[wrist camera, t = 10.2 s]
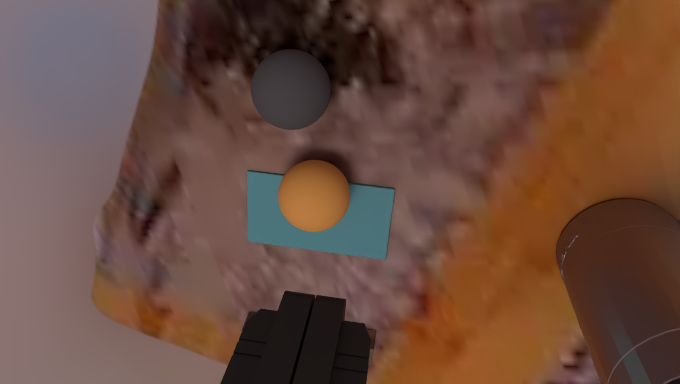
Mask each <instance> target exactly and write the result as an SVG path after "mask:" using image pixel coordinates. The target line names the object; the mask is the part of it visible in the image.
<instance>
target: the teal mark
mask: <svg viewBox="0 0 680 384" xmlns="http://www.w3.org/2000/svg"><path fill="white" fill-rule="evenodd" d="M283 177H284V175H282V174H273V173H265V172H257V171H249V170H248V171H247V202H248V241H249V242H256V243H264V244H271V245H279V246H286V247H294V248H301V249H308V250H316V251H323V252H331V253H338V254H346V255H353V256H360V257H368V258H375V259H383V260H385V259H386V251H387V244H388V236H389V229H390V221H391V214H392V206H393V199H394V191H395V188H387V187H379V186H371V185H362V184H354V183H348V185H349V189H350V203H349V207H348V210H347V212H346V214H345V215H344V217H343V218H342V219H341V221H340V222H338V223H337V224H336V225H335V226H333V227H332V228H329V229H327V230H324V231H320V232H308V231H304V230H301V229H299V228H297V227H295V226H293V225H292V224H291V223H290V222H289V221H288V220H287V219H286V218H285V216H284V215H283V213H282V211H281V209H280V206H279V202H278V190H279V186H280V183H281V180H282V178H283Z"/></svg>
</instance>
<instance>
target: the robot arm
mask: <svg viewBox="0 0 680 384" xmlns="http://www.w3.org/2000/svg"><path fill="white" fill-rule="evenodd" d="M556 257H557V264H558V266H559V269H560V272H561V277H562V280H563V281H564V283H565V286H566V289H567V292H568V295H569V298H570V300H571V303H572V306H573V309H574V311H575V314H576V317H577V320H578V322H579V325H580V328H581V330H582V333H583V336H584V339H585V341H586V344H587V347H588V350H589V352H590V355H591V358H592V360H593V363H594V366H595V369H596V371H597V374H598V377H599V380H600V382H601V384H680V222H677V221H676V220H675V219H673V218H672V217H671V216H670V215H669V214H668V213H667V212H666V211H665V210H664V209H662V208H660V207H659V206H657V205H655V204H652V203H649V202H646V201H643V200H635V199H617V200H612V201H607V202H603V203H600V204H598V205H595V206H593V207H590V208H588V209H587V210H585V211H584V212H582V213H580V214H579V215H578V216H576V217H575V218H574V219H573V220H572V221H571V222H570V223H569V224H568V225H567V227H566V228H565V229H564V231H563V232H562V234H561V236H560V239H559V241H558V244H557V250H556ZM345 308H346V299H342V298H335V297H328V296H321V295H317V296H316V299H315V295H313V294H305V293H298V292H291V291H285V292H284V295H283V297H282V300H281V303H280V306H279V309H278V311H273V310H266V309H260V310H259V311H258V312H257V313H255V314H254V315H253V316H252V317H251V318H250V319H249V320H248V321H247V322H246V324H245V326H244V329H243V331H242V333H241V336H240V338H239V342H238V343H237V345H236V348H235V350H234V354H233V355H232V357H231V360H230V362H229V364H228V367H227V369H226V372H225V374H224V376H223V379H222V381H221V384H366V381H367V372H368V364H369V355H370V347H371V338H370V336H369V333H368V331H367V329H366V326H365V324H364V323H357V322H350V321H344V319H345Z"/></svg>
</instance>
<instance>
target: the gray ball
mask: <svg viewBox="0 0 680 384" xmlns="http://www.w3.org/2000/svg"><path fill="white" fill-rule="evenodd" d="M251 94H252V99H253V102H254V105H255V107H256V109H257V111H258V112H259V113H260V115H261V116H262V117H263V118H264V119H265V120H266V121H267V122H269V123H270V124H272V125H274V126H276V127H279V128H282V129H288V130H294V129H301V128H304V127H307V126H309V125H311V124H313V123H314V122H315V121H317V120H318V119H319V118H320V117H321V116H322V114H323V113H324V111H325V110H326V108H327V106H328V103H329V100H330V94H331V86H330V80H329V77H328V74H327V72H326V70H325V69H324V67H323V65H322V64H321V63H320V62H319V61H318V60H317V59H316V58H315V57H313V56H312V55H310V54H308V53H306V52H304V51H301V50H295V49H286V50H280V51H277V52H275V53H272V54H271V55H269V56H267V57H266V58H265V59H264V60H263V61H262V62H261V63H260V64H259V66H258V67H257V69H256V71H255V73H254V75H253V78H252V84H251Z"/></svg>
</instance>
